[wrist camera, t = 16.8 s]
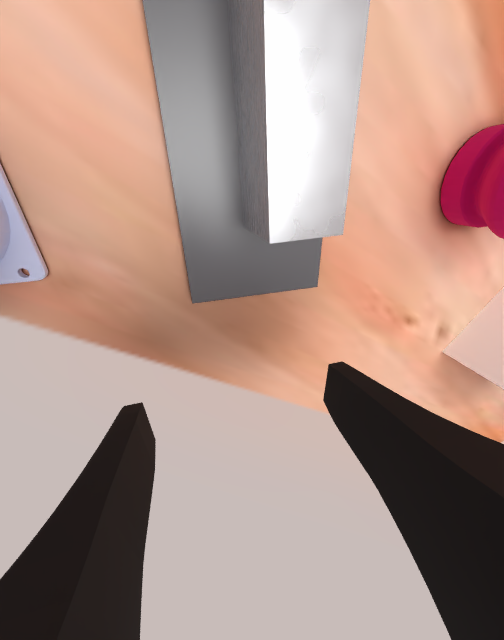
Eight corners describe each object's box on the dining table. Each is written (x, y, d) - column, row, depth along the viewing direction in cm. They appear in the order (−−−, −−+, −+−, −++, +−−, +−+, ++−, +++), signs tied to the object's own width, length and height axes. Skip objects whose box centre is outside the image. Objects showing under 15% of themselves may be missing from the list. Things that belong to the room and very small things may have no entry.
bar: (243, 226, 15) (269, 243, 11) (201, -371, 7) (234, -1207, 3) (298, 220, 16) (342, 234, 11) (314, -332, 8) (482, -964, 3)
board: (192, 298, 17) (192, 303, 16) (120, -142, 9) (114, -169, 8) (312, 283, 19) (317, 286, 18) (346, -94, 11) (358, -113, 10)
